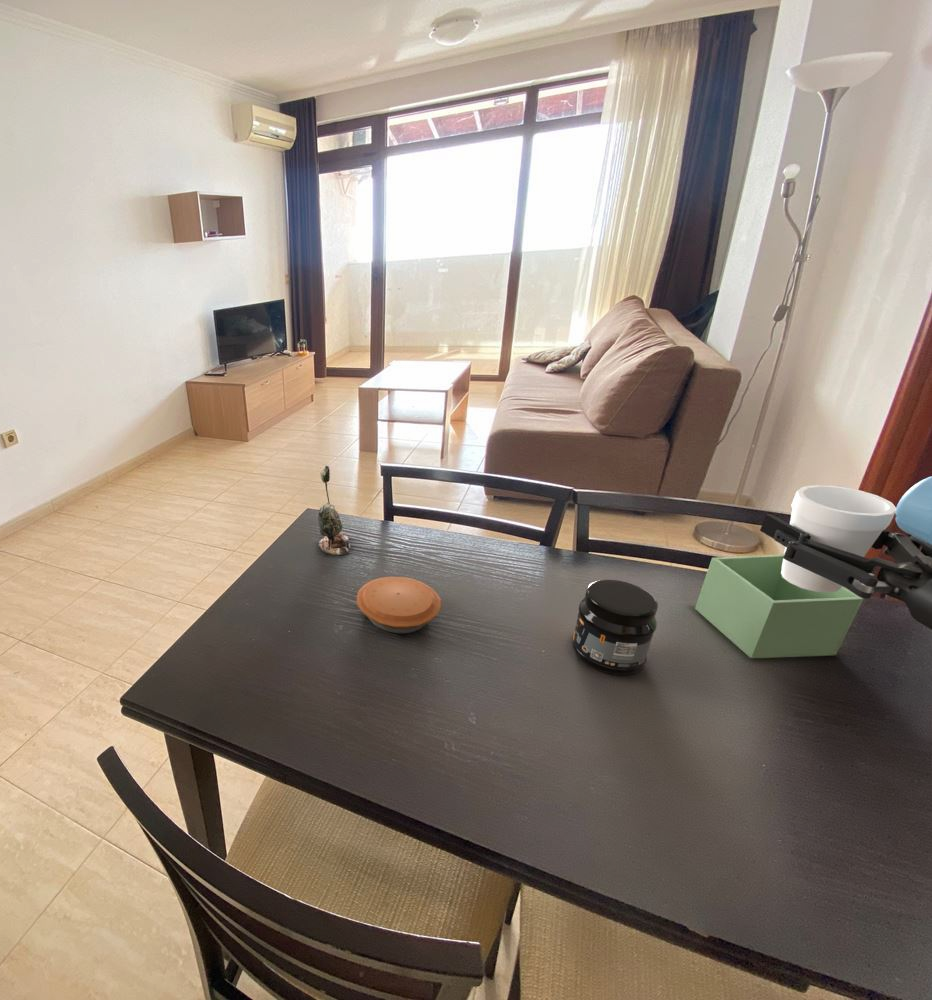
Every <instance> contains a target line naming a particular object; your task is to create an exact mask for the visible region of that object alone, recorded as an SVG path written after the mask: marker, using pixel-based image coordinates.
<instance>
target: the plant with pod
mask: <svg viewBox="0 0 932 1000" xmlns="http://www.w3.org/2000/svg"><path fill="white" fill-rule="evenodd" d="M330 471H331V470H330V467H329V465H324V467H323V468H322V470H321V471H320V479H321V481H322V482H323V483H324V485H325V491H326V497H327V498H326V499H327V503H325V504H323V505H321V506H320V508H317V511H318V517H317V521H318V522H317V523H318V526H319V534H320V535H321V536H322V538H321V539H320V540H319V542H318V543H317V545H318V546H319V547H320V549H321V550H322V552H323V553H324V554H327V555H333V556H336V555H337V556H338V555H341V556H342V555H345V554H347V553H348V552H349V551H350V548H351V546H352V545H351V542H350V538H349V536H347V535H346V534H344V533H343V532H342V530H343V529H344V526H343V519H342V518H341V514H340V512H339V511H338V510H337V508H336V506H335V505H334V504H331V503H330V498H329V491H328V483H329V482H330V479H331V477H330V476H331V473H330Z"/></svg>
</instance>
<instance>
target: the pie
mask: <svg viewBox="0 0 932 1000" xmlns="http://www.w3.org/2000/svg"><path fill="white" fill-rule="evenodd" d="M356 603H357V607H358V609H360V611H361V613H362V614H363V615H365V616H366V617H367V618H368V620H369V621H370V622H371V623H372V624H373V625H374V626H376V627H377V628H378V629H381V630H383V631H385V632H389V633H393V634H410V633H414V632H417V631H419V630H421V629H422V628H423V627H425V626H426V625H427V624H428V623H429V622H430V621H432V620H433V619H435V618H437V617H438V614H439V612H440V610H441V606H442V599H441V598H440V596H439V594H438V593H437V592H436V591H435V590H434V589H433V588H432V587H431V586H429V585H427V584H426V583H424V582H422V581H419V580H417V579H415V578H411V577H404V576H386V577H379V578H376V579H373V580H370V581H368V582H367V583H366V584H364V585H362V587H360V589H359V590H358V591H357V595H356Z"/></svg>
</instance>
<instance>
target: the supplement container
mask: <svg viewBox="0 0 932 1000" xmlns="http://www.w3.org/2000/svg"><path fill="white" fill-rule="evenodd" d="M658 608H659V604H658V601H657V599H656V598H655V597H654V595H652V594H651V593H650V592H649V591H648V590H646V589H644V588H642V587H641V586H639V585H636V584H633V583H630V582H627V581H623V580H617V579H601V580H600V579H599V580H596V581H593V582H591V583H590V584H588V586H587V587H586V590H585V594H584V598H583V599H582V600H581V601H580V603H579V604H578V614H577V618H576V622H575V627H574V632H573V636H572V639H571V646H572V650H573V652H574V653H575V654H576V656H577V657H578V658H579V659H580V660H581V661H582V662H583V663H585V664H586V665H588V666H590V667H591V668H593V669H595V670H598V671H601V672H603V673H606V674H611V675H619V676H625V675H632V674H635V673H637V672H639V671H641V670H642V669H643V668H644V666H645V664H646V661H647V656H648V652H649V649H650V645H651V643H652V639H653V636H654V633H655V631H656V630H657V627H658V622H657V618H656V616H657V615H656V614H657V612H658Z"/></svg>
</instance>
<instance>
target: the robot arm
mask: <svg viewBox="0 0 932 1000" xmlns="http://www.w3.org/2000/svg"><path fill="white" fill-rule="evenodd" d="M895 507H896V511H895V523H896V525H897V527H898V528H899V529H900V530H902V531H903V532H904V533H905V534H909V535H910V536H907V535H905V534H904V533H901V532H892V531H890V530H888V529H887V528H886V529H885V530H883V531H882V532H881V534H880V535H879V537H878V538H877V539H876V541H875V542H874V544H873V545H872V546H871V548H873V549H874V550H882V549H883V547H884V546H885V547H884V550H883V552H882V555H885V556H890V557H891V558H892V559H893V561H894V562H893V561H890V560H887V559H883V558H881V557H877V556H876V557H875V556H874V557H872V558H868V557H865V556H864V557H862V556H859V555H856V554H853V553H849V552H846V551H843V550H840V549H837V548H834V547H831V546H828V545H825V544H821V543H818V542H815V541H812V540H810V537H811V536H810V535H809V534H807V533H804V532H803V531H801V530H799V529H797V528H795V527H794V526H792V525H790V523H788V522H786V521H785V520H783V519H781V518H779V517H777V516H775V515H773V513H770V514H769V513H767V514H765V515H764V518H763V521H762V524H761V525H760V529H759V531H760V532H761V533H762V534H765V535H766V536H768V537H770V538H771V539H773V540H774V542H776V543H778V544H780V545H781V546H783V547H784V548H785V547H787V549H786V551H785V550H784V552H785V554H784V553H783V554H784V556H783V558H784V559H785V560H787V561H789V562H791V563H794V564H796V565H798V566H800V567H802V568H804V569H807V570H809V571H811V572H813V573H815V574H817V575H820V576H822V577H824V578H826V579H828V580H830V581H833V582H835V583H837V584H839V585H841V586H843V587H845V588H846V589H848V590H850V591H851V592H853V593H854V594H856V595H857V596H859V597H861V598H863V599H867V600H868V599H871V598H872V595H873V594H885V595H886V596H888V597H891V598H894V599H896V600H898V601H901V602H903V603H904V604H905V605H906V607H907V609H908V612H909V614H910V616H911V617H912V618H913V619H914V620H915V622H918V623H920V624H921V625H923V626H924V627H926V628H928V629H930V630H931V631H932V476H928V477H926V478H924V479H922V480H920V481H919V482H917V483H915V484H913V486H911V487H910V488H909V489H908V490H906V492H905V493H904V494H903V495H902V496H901V498H900V499H899V501H898V503H897V505H896V506H895ZM878 567H880V568H879V571H878V573H877V574H876V575H875V573H876V570H877V569H878ZM875 576H876V577H875Z"/></svg>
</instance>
